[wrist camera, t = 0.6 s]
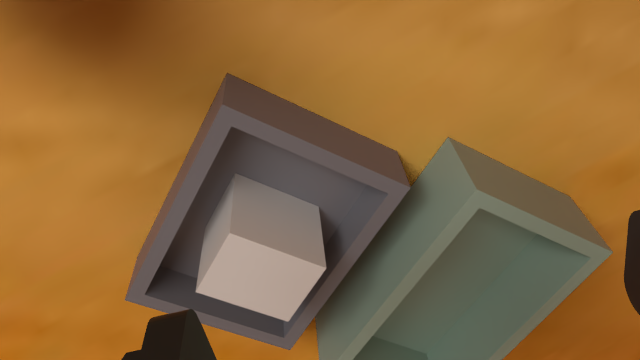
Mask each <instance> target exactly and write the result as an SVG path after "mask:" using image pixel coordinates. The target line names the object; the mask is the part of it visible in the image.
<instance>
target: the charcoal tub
mask: <svg viewBox="0 0 640 360" xmlns="http://www.w3.org/2000/svg"><path fill="white" fill-rule="evenodd" d="M235 173H236V174H239V175H241V176H244V177H246V178H249V179H251V180H254V181H256V182H259V183H261V184H264V185H266V186H269V187H271V188H273V189H276V190H278V191H281V192H283V193H286V194H288V195H291V196H293V197H296V198H298V199H301V200H303V201H306V202H308V203H311V204H313V205H316V206H318V207H319V213H320V221H321V229H322V237H323V245H324V253H325V261H326V270H325V271H324V272H323V274H322V275H321V277H320V278H319V279H318V281H317V282H316V284H315V285H314V286H313V288H312V289H311V291H310V292H309V293H308V295H307V296H306V298H305V299H304V300H303V302H302V303H301V305H300V306H299V307H298V309H297V310H296V312H295V313H294V314H293V316H292V317H291V319H290V320H289V321H288V322H287V321H284V320H281V319H278V318H275V317H272V316H269V315H265V314H262V313H259V312H256V311H253V310H250V309H247V308H244V307H241V306H237V305H234V304H231V303H228V302H225V301H222V300H219V299H216V298H213V297H209V296H206V295H203V294H200V293H197V292H196V285H197V279H198V272H199V265H200V259H201V252H202V246H203V239H204V233H205V227H206V225H207V224H208V222H209V220H210V218H211V216H212V214H213V213H214V211H215V209H216V207H217V205H218V203H219V202H220V200H221V198H222V196H223V194H224V192H225V191H226V189H227V187H228V185H229V183H230V181H231V180H232V178H233V176H234V174H235ZM410 188H411V187H410V184H409V182H408V179H407V176H406V174H405V171H404V168H403V166H402V163H401V160H400V158H399V155H398V152H397V151H395V150H393V149H390V148H388V147H386V146H384V145H382V144H380V143H377V142H375V141H373V140H371V139H369V138H367V137H364V136H362V135H360V134H358V133H356V132H354V131H351V130H349V129H347V128H345V127H343V126H341V125H338V124H336V123H334V122H332V121H330V120H328V119H325V118H323V117H321V116H319V115H317V114H315V113H313V112H310V111H308V110H306V109H304V108H302V107H300V106H297V105H295V104H293V103H291V102H289V101H287V100H284V99H282V98H280V97H278V96H276V95H274V94H271V93H269V92H267V91H265V90H263V89H261V88H258V87H256V86H254V85H252V84H250V83H248V82H245V81H243V80H241V79H239V78H237V77H235V76H232V75H230V74H228V73H227V74H226V76H225V78H224V80H223V82H222V84H221V86H220V88H219V91H218V93H217V95H216V97H215V99H214V101H213V103H212V105H211V107H210V109H209V111H208V113H207V115H206V117H205V119H204V121H203V123H202V125H201V128H200V130H199V132H198V134H197V136H196V138H195V140H194V142H193V144H192V146H191V148H190V150H189V152H188V154H187V156H186V158H185V160H184V162H183V165H182V167H181V169H180V171H179V173H178V175H177V177H176V179H175V181H174V183H173V185H172V187H171V189H170V191H169V193H168V195H167V197H166V199H165V202H164V204H163V206H162V208H161V210H160V212H159V214H158V216H157V218H156V220H155V222H154V224H153V226H152V228H151V230H150V232H149V234H148V236H147V239H146V241H145V243H144V245H143V247H142V249H141V251H140V253H139V255H138V257H137V260H136V264H135V267H134V271H133V274H132V277H131V281H130V284H129V288H128V291H127V294H126V298H125V300H126V301H130V302H133V303H136V304H139V305H143V306H146V307H149V308H153V309H156V310H159V311H162V312H166V313H169V314H170V313H175V312H179V311H184V310H188V309H193V310H194V311H195V312H196V314H197V316H198V318H199V320H200V323H202V324H205V325H209V326H212V327H215V328H219V329H222V330H225V331H228V332H232V333H235V334H238V335H242V336H245V337H248V338H252V339H255V340H258V341H261V342H265V343H268V344H271V345H275V346H278V347H281V348H285V349H288V350H290V349H291V348H292V347H293V345H294V344H295V343H296V341H297V340H298V339H299V337H300V336H301V335H302V333H303V332H304V331H305V329H306V328H307V326H308V325H309V324H310V322H311V321H312V320H313V318H314V317H315V316H316V314H317V313H318V312H319V310H320V309H321V308H322V306H323V305H324V304H325V302H326V301H327V300H328V298H329V297H330V296H331V294H332V293H333V292H334V290H335V289H336V288H337V286H338V285H339V283H340V282H341V281H342V279H343V278H344V277H345V275H346V274H347V273H348V271H349V270H350V269H351V267H352V266H353V265H354V263H355V262H356V261H357V259H358V258H359V257H360V255H361V254H362V253H363V251H364V250H365V249H366V247H367V246H368V244H369V243H370V242H371V240H372V239H373V238H374V236H375V235H376V234H377V232H378V231H379V230H380V228H381V227H382V226H383V224H384V223H385V222H386V220H387V219H388V218H389V216H390V215H391V214H392V212H393V211H394V210H395V208H396V207H397V206H398V204H399V203H400V201H401V200H402V199H403V197H404V196H405V195H406V193H407V192H408V191H409V189H410Z"/></svg>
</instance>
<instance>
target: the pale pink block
mask: <svg viewBox="0 0 640 360" xmlns="http://www.w3.org/2000/svg"><path fill="white" fill-rule="evenodd" d="M325 270H326V261H325V253H324V245H323V237H322V229H321V221H320V213H319V207H318V206H316V205H313V204H311V203H308V202H306V201H303V200H301V199H298V198H296V197H293V196H291V195H288V194H286V193H283V192H281V191H278V190H276V189H273V188H271V187H269V186H266V185H264V184H261V183H259V182H256V181H254V180H251V179H249V178H246V177H244V176H241V175H239V174H236V173H235V174H234V176H233V178H232V180H231V181H230V183H229V185H228V187H227V189H226V191H225V192H224V194H223V196H222V198H221V200H220V202H219V203H218V205H217V207H216V209H215V211H214V213H213V214H212V216H211V218H210V220H209V222H208V224H207V225H206V227H205V233H204V239H203V246H202V252H201V259H200V265H199V272H198V279H197V285H196V292H197V293H200V294H203V295H206V296H209V297H213V298H216V299H219V300H222V301H225V302H228V303H231V304H234V305H237V306H241V307H244V308H247V309H250V310H253V311H256V312H259V313H262V314H265V315H269V316H272V317H275V318H278V319H281V320H284V321H287V322H288V321H289V320H290V319H291V317H292V316H293V314H294V313H295V312H296V310H297V309H298V307H299V306H300V305H301V303H302V302H303V300H304V299H305V298H306V296H307V295H308V293H309V292H310V291H311V289H312V288H313V286H314V285H315V284H316V282H317V281H318V279H319V278H320V277H321V275H322V274H323V272H324V271H325Z"/></svg>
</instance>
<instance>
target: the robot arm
mask: <svg viewBox="0 0 640 360" xmlns="http://www.w3.org/2000/svg"><path fill="white" fill-rule="evenodd" d="M624 283H625V288H626V291H627V294H628V297H629V299H630V301H631V303H632V305H633V307H634V308H635V310H636V311H637V312H638V314H639V315H640V210H638V211H634V212H633V213H632V214H631V216H630V218H629V223H628V235H627V247H626V258H625V270H624ZM122 360H217V359H216V357H215V355H214V352H213V350H212V348H211V346H210V343H209V341H208V339H207V336H206V334H205V332H204V329H203V327H202V325H201V323H200V320H199V318H198V316H197V314H196V312H195V311H194V310H193V309H188V310H184V311H179V312H175V313H170V314H166V315H161V316H157V317H153V318H151V319H150V320H149V322H148V325H147V329H146V333H145V337H144V341H143V345H142V349H141V350H137V351H133V352H128V353H126V354H125V355H124V357H123V358H122Z"/></svg>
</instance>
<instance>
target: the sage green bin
mask: <svg viewBox="0 0 640 360" xmlns="http://www.w3.org/2000/svg"><path fill="white" fill-rule="evenodd" d="M612 253H613V251H612V250H611V249H610V248H609V246H608V245H607V244H606V242H605V241H604V240H603V239H602V237H601V236H600V235H599V234H598V232H597V231H596V230H595V228H594V227H593V226H592V225H591V223H590V222H589V221H588V219H587V218H586V217H585V216H584V214H583V213H582V212H581V210H580V209H579V208H578V207H577V205H576V204H575V203H574V201H573V200H572V199H571V198H570V197H569V196H567V195H565V194H563V193H561V192H559V191H557V190H555V189H553V188H551V187H549V186H547V185H545V184H543V183H541V182H539V181H537V180H535V179H533V178H530V177H528V176H526V175H524V174H522V173H520V172H518V171H516V170H514V169H512V168H510V167H508V166H506V165H504V164H502V163H500V162H498V161H496V160H494V159H492V158H490V157H488V156H486V155H483V154H481V153H479V152H477V151H475V150H473V149H471V148H469V147H467V146H465V145H463V144H461V143H459V142H457V141H455V140H453V139H451V138H449V137H448V138H447V139H446V141H445V142H444V143H443V145H442V146H441V147H440V149H439V150H438V151H437V153H436V154H435V156H434V157H433V158H432V160H431V161H430V162H429V164H428V165H427V166H426V168H425V169H424V170H423V172H422V173H421V174H420V176H419V177H418V178H417V180H416V181H415V182H414V184H413V185H412V186H411V188H410V189H409V191H408V192H407V193H406V195H405V196H404V197H403V199H402V200H401V201H400V203H399V204H398V206H397V207H396V208H395V210H394V211H393V212H392V214H391V215H390V216H389V218H388V219H387V220H386V222H385V223H384V224H383V226H382V227H381V228H380V230H379V231H378V232H377V234H376V235H375V236H374V238H373V239H372V240H371V242H370V243H369V244H368V246H367V247H366V249H365V250H364V251H363V253H362V254H361V255H360V257H359V258H358V259H357V261H356V262H355V263H354V265H353V266H352V267H351V269H350V270H349V271H348V273H347V274H346V275H345V277H344V278H343V279H342V281H341V282H340V283H339V285H338V286H337V288H336V289H335V290H334V292H333V293H332V294H331V296H330V297H329V298H328V300H327V301H326V302H325V304H324V305H323V306H322V308H321V309H320V310H319V312H318V313H317V314H316V316H315V319H316V330H317V341H318V351H319V360H502V359H503V358H504V357H505V356H506V355H507V354H508V353H510V352H511V351H512V350H513V349H514V348H515V347H516V346H517V345H518V344H519V343H520V342H521V341H522V340H523V339H524V338H525V337H526V336H527V335H528V334H529V333H530V332H531V331H532V330H533V329H534V328H535V327H536V326H537V325H538V324H539V323H541V322H542V321H543V320H544V319H545V318H546V317H547V316H548V315H549V314H550V313H551V312H552V311H553V310H554V309H555V308H556V307H557V306H558V305H559V304H560V303H561V302H562V301H563V300H564V299H565V298H566V297H567V296H568V295H569V294H570V293H572V292H573V291H574V290H575V289H576V288H577V287H578V286H579V285H580V284H581V283H582V282H583V281H584V280H585V279H586V278H587V277H588V276H589V275H590V274H591V273H592V272H593V271H594V270H595V269H596V268H597V267H598V266H599V265H600V264H601V263H603V262H604V261H605V260H606V259H607V258H608V257H609V256H610V255H611V254H612Z"/></svg>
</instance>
